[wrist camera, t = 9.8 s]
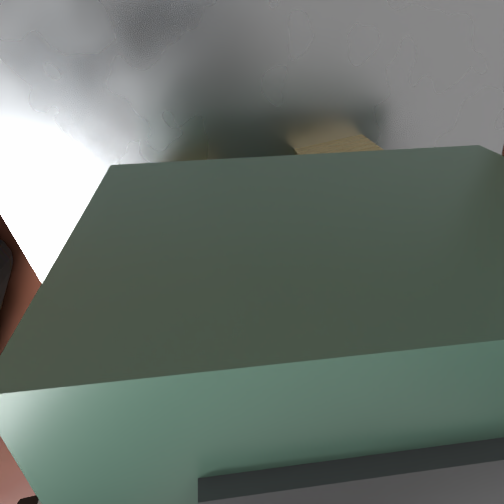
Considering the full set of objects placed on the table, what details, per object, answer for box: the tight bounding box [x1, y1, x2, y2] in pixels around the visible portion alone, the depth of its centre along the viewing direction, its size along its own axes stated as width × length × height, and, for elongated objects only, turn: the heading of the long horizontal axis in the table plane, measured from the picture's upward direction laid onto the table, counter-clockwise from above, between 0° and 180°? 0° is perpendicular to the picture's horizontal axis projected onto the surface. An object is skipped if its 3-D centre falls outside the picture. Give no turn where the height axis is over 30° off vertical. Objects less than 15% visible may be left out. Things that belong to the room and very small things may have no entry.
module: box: [0, 145, 504, 504], centre depth 10 cm, size 12×10×7 cm
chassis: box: [0, 0, 504, 283], centre depth 15 cm, size 22×18×4 cm
